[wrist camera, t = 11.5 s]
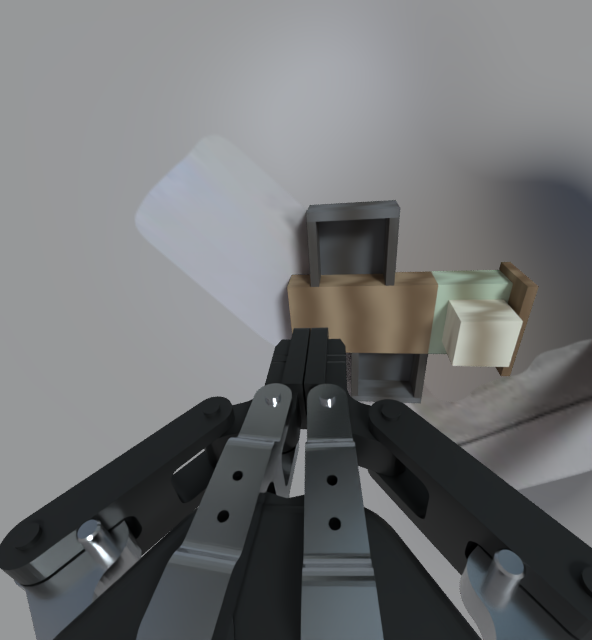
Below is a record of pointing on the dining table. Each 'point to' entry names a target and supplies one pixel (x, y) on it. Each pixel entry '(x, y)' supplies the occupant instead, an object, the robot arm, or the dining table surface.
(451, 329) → the block
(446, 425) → the dining table surface
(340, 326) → the box
